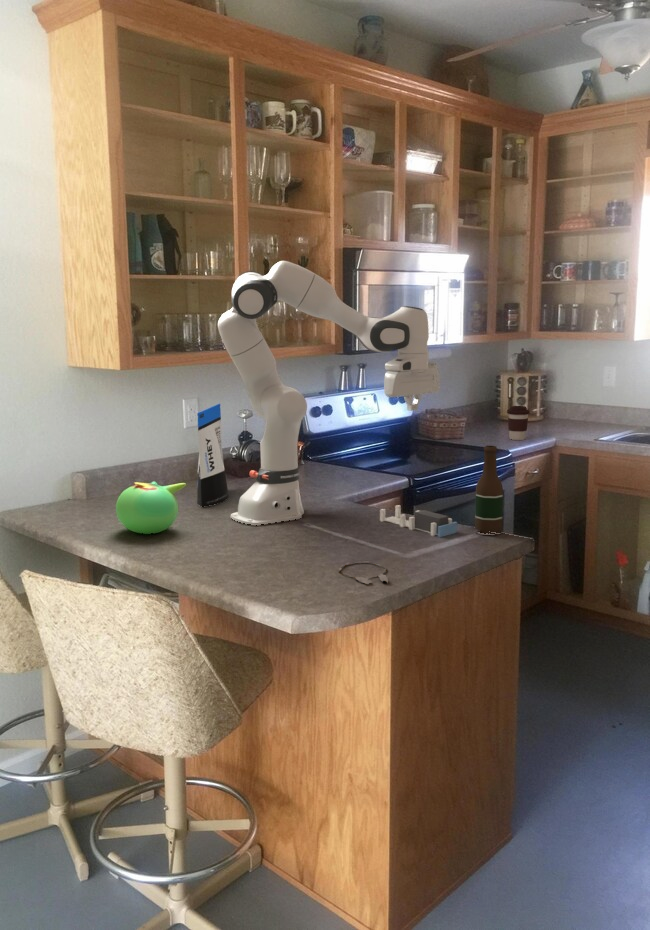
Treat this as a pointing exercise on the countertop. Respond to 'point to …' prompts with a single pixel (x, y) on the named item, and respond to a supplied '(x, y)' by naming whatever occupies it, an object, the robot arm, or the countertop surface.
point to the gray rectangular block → (429, 520)
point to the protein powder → (210, 459)
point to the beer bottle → (489, 496)
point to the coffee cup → (517, 422)
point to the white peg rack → (402, 521)
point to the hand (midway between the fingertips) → (412, 410)
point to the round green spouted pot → (148, 507)
